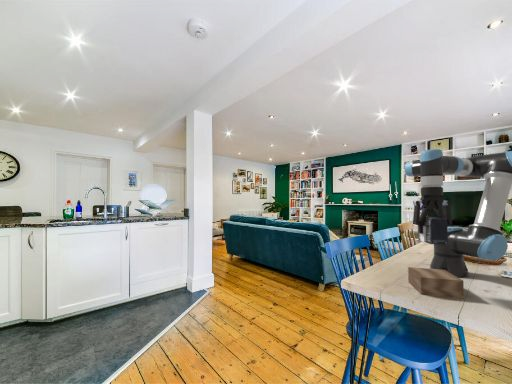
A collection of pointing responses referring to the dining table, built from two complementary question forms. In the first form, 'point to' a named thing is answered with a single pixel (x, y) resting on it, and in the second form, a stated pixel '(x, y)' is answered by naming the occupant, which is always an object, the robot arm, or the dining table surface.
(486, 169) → the robot arm
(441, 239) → the small box
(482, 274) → the dining table surface
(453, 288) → the walnut block
